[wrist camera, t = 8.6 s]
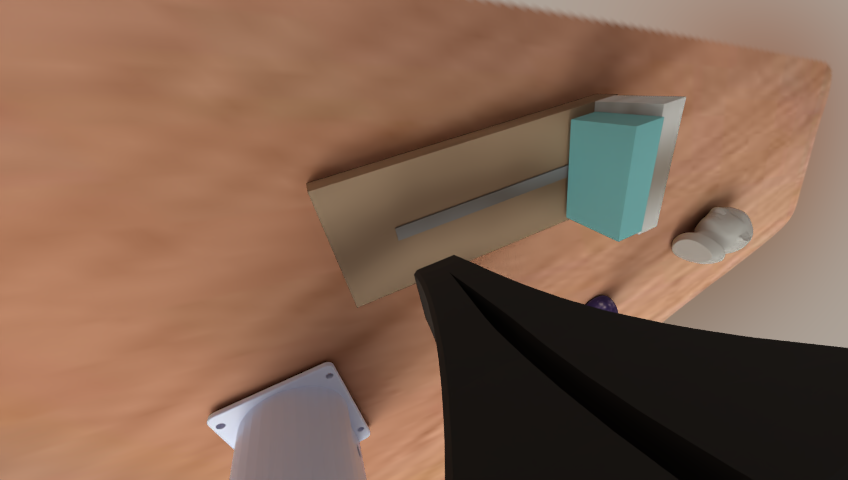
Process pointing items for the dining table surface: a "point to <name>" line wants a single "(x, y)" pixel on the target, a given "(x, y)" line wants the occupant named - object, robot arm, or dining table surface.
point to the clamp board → (468, 193)
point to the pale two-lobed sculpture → (714, 236)
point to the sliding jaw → (611, 171)
